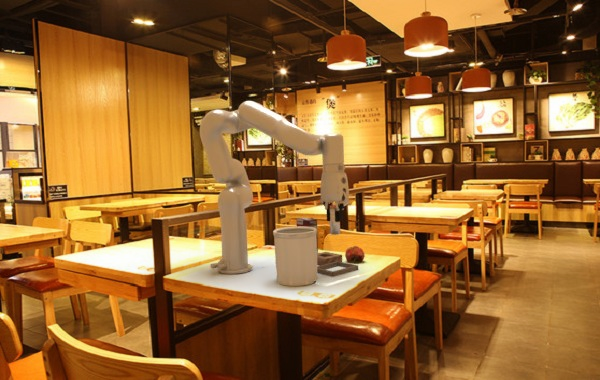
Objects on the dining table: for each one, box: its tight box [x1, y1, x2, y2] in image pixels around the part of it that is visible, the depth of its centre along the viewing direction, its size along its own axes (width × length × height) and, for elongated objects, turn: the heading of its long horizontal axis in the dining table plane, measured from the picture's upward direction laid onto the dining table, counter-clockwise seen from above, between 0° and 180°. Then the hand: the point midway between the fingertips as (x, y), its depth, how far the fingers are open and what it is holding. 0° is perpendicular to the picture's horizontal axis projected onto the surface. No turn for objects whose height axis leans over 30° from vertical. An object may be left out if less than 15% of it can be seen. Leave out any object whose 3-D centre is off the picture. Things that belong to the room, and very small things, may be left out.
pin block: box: [317, 251, 343, 266], centre depth 171 cm, size 9×9×4 cm
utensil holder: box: [272, 225, 318, 287], centre depth 150 cm, size 15×15×18 cm
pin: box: [329, 204, 341, 236], centre depth 158 cm, size 3×3×10 cm
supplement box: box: [296, 217, 319, 254], centre depth 189 cm, size 9×5×16 cm, turn 41°
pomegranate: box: [344, 245, 365, 265], centre depth 172 cm, size 7×7×10 cm
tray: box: [317, 261, 359, 278], centre depth 159 cm, size 13×10×2 cm
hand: (334, 220), depth 158 cm, fingers closed on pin, 3 cm apart
